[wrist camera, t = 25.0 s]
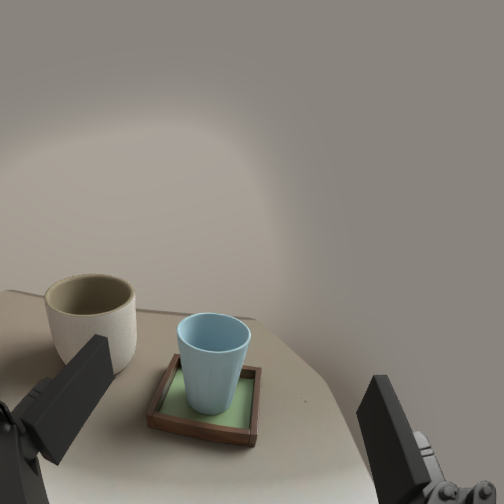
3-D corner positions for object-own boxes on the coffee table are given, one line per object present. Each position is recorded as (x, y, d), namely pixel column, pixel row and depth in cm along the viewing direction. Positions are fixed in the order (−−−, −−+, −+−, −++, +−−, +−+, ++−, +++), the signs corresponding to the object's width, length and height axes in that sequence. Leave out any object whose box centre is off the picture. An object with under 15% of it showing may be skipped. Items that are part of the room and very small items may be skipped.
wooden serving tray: (259, 379, 38) (261, 367, 38) (254, 446, 27) (257, 435, 26) (174, 365, 39) (174, 353, 38) (147, 426, 27) (145, 414, 26)
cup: (177, 378, 35) (177, 310, 32) (235, 379, 37) (244, 313, 34) (177, 420, 28) (175, 350, 25) (245, 420, 30) (257, 352, 27)
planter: (156, 356, 40) (153, 290, 37) (100, 402, 28) (83, 329, 25) (99, 327, 44) (93, 267, 40) (44, 360, 32) (28, 292, 29)
